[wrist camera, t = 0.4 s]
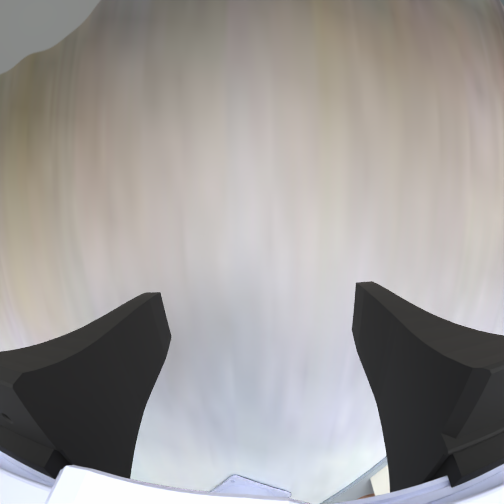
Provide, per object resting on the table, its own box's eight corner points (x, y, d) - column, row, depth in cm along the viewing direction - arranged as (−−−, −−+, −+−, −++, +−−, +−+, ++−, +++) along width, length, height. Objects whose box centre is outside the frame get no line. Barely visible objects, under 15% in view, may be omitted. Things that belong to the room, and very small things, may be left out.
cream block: (392, 482, 26) (403, 514, 20) (369, 478, 25) (379, 512, 20) (419, 461, 25) (433, 493, 19) (397, 456, 25) (411, 490, 19)
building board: (388, 518, 29) (389, 521, 28) (311, 508, 28) (312, 512, 27) (476, 450, 25) (478, 453, 25) (416, 429, 24) (418, 433, 24)
